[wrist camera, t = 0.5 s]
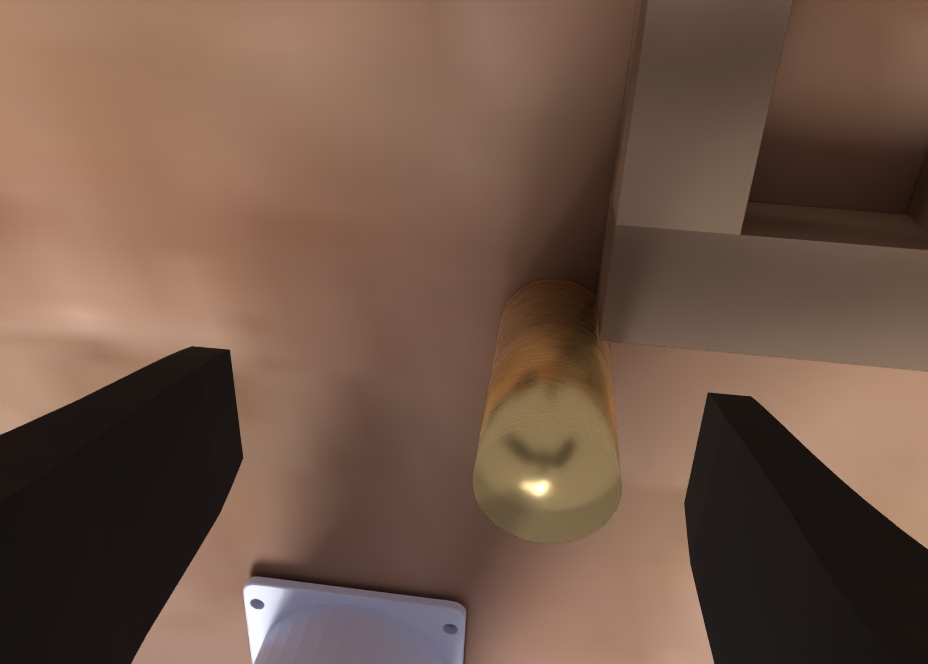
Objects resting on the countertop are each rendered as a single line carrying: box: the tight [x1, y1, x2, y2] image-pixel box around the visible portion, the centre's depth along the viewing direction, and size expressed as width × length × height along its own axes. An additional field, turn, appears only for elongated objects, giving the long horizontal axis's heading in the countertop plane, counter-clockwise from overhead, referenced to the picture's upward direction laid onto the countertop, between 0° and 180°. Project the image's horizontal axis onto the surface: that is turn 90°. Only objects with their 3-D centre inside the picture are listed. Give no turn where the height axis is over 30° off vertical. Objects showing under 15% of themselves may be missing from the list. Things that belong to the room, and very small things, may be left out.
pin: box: [473, 279, 622, 543], centre depth 19 cm, size 3×3×7 cm
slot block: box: [596, 0, 928, 372], centre depth 17 cm, size 12×10×2 cm
